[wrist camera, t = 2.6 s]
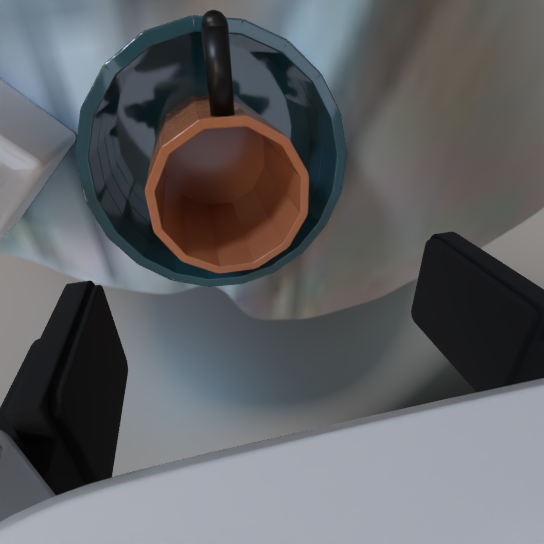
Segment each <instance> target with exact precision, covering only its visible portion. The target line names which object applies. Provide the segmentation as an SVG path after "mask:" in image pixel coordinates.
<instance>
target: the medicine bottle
mask: <svg viewBox="0 0 544 544" xmlns="http://www.w3.org/2000/svg"><path fill="white" fill-rule="evenodd" d="M75 140H76V136H75V134H74V133H73V132H72V131H71V130H70V129H68V128H67V127H66V126H64V125H63V124H61V123H60V122H59V121H57V120H56V119H54V118H53V117H52V116H50V115H49V114H48V113H46V112H45V111H43V110H42V109H41V108H39V107H38V106H37V105H35V104H34V103H32V102H31V101H30V100H28V99H27V98H25V97H24V96H23V95H21V94H20V93H19V92H17V91H16V90H14V89H13V88H12V87H10V86H9V85H8V84H6V83H5V82H3V81H2V80H1V79H0V241H1V240H2V238H3V237H4V236H5V235H6V234H7V233H8V232H9V231H10V230H11V228H12V227H13V226H14V225H15V224H16V223H17V222H18V221H19V220H20V218H21V217H22V216H23V214H24V213H25V211H26V210H27V209H28V207H29V206H30V204H31V203H32V202H33V200H34V199H35V197H36V196H37V194H38V193H39V192H40V190H41V189H42V187H43V186H44V184H45V183H46V182H47V180H48V179H49V177H50V176H51V174H52V173H53V172H54V170H55V169H56V167H57V166H58V165H59V163H60V162H61V160H62V159H63V157H64V156H65V155H66V153H67V152H68V150H69V149H70V147H71V146H72V145H73V143H74V142H75Z"/></svg>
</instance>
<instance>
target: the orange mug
mask: <svg viewBox="0 0 544 544" xmlns="http://www.w3.org/2000/svg"><path fill="white" fill-rule="evenodd" d="M201 31H202V41H203V50H204V60H205V69H206V78H207V88H208V94H198V95H191V96H189V97H188V98H187V99H185V100H184V101H182V102H181V103H179V104H178V105H177V106H176V107H174V108H173V109H172V110H171V111H169V112H168V113H166V115H165V117H164V120H163V122H162V125H161V128H160V130H159V133H158V136H157V139H156V141H155V144H154V149H153V154H152V158H151V163H150V168H149V172H148V177H147V182H146V186H145V195H146V200H147V204H148V209H149V213H150V218H151V223H152V227H153V231H154V233H155V234H156V235H157V236H158V237H159V238H160V239H161V240H162V241H163V242H164V243H165V245H166V246H167V247H168V248H169V249H170V250H171V251H172V252H173V253H174V254H175V255H176V256H177V257H178V258H179V259H180V260H181V261H182V262H185V263H188V264H191V265H194V266H197V267H200V268H203V269H206V270H209V271H212V272H215V273H227V272H235V271H242V270H249V269H256V268H258V267H260V266H261V265H263V264H264V263H266V262H267V261H269V260H270V259H272V258H273V257H275V256H276V255H278V254H279V253H281V252H283V251H284V250H286V249H287V248H288V247H289V246H290V244H291V242H292V241H293V239H294V237H295V236H296V234H297V232H298V230H299V229H300V227H301V225H302V224H303V222H304V220H305V218H306V217H307V214H308V195H309V175H308V172H307V170H306V168H305V166H304V164H303V163H302V161H301V159H300V157H299V156H298V154H297V152H296V150H295V148H294V147H293V145H292V143H291V141H290V139H289V138H288V137H287V136H285V135H284V134H283V133H282V132H280V131H279V130H278V129H277V128H275V127H274V126H273V125H272V124H270V123H269V122H268V121H267V120H265V119H264V118H263V117H262V116H261V115H259V114H258V113H257V112H256V111H254V110H253V109H252V108H250V107H248V106H246V105H245V104H243V103H241V102H239V101H238V100H236V99H234V97H233V83H232V69H231V56H230V42H229V28H228V22H227V19H226V18H225V16H224V15H223V14H222V13H221V12H219V11H216V10H211V11H208V12H207V13H205V15H204V16H203V18H202V21H201Z"/></svg>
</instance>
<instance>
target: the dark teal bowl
mask: <svg viewBox="0 0 544 544" xmlns="http://www.w3.org/2000/svg"><path fill="white" fill-rule="evenodd" d="M202 18H203V16H195V15H193V16H188V17H185V18H182V19H179V20H176V21H173V22H170V23H167V24H164V25H160V26H157V27H154V28H151V29H148V30H145V31H144V32H141V33H140V34H139V35H138V36H137V37H135V38H134V39H133V40H132V41H131V42H129V43H128V44H127V45H126V46H125V47H124V48H122V49H121V50H120V51H119V52H118V53H117V54H115V55H114V56H113V57H112V58H111V59H110V60H108V61H107V62H106V63H105V64H104V65H103V66H102V68H101V70H100V72H99V74H98V76H97V78H96V80H95V82H94V84H93V86H92V88H91V90H90V91H89V93H88V95H87V97H86V99H85V101H84V103H83V105H82V107H81V110H80V117H79V126H78V135H77V143H76V152H75V156H76V162H77V167H78V171H79V175H80V180H81V184H82V188H83V193H84V197H85V200H86V203H87V204H88V206H89V208H90V209H91V211H92V213H93V214H94V216H95V217H96V219H97V221H98V222H99V224H100V226H101V227H102V229H103V231H104V232H105V234H106V236H107V237H108V238H109V239H110V240H111V241H112V242H113V243H115V244H116V245H117V246H118V247H119V248H120V249H121V250H122V251H124V252H125V253H126V254H127V255H128V256H129V257H130V258H131V259H133V260H134V261H135V262H136V263H137V264H139V265H141V266H143V267H145V268H147V269H149V270H151V271H153V272H155V273H157V274H159V275H161V276H164V277H166V278H168V279H170V280H173V281H178V282H184V283H189V284H195V285H200V286H206V287H207V286H208V287H211V286H223V285H234V284H242V283H246V282H249V281H252V280H254V279H257V278H260V277H263V276H266V275H268V274H271V273H274V271H275V272H276V271H277V270H279V269H280V268H282V267H283V266H284V265H286V264H287V263H289V262H290V261H292V260H293V259H295V258H296V257H297V256H299V255H300V254H302V253H303V252H304V251H305V250H306V249H307V247H308V246H309V245H310V244H311V243H312V241H313V240H314V239H315V238H316V237H317V235H318V234H319V233H320V232H321V231H322V230H323V228H324V227H325V225H326V224H327V222H328V220H329V218H330V215H331V213H332V211H333V209H334V207H335V204H336V202H337V200H338V198H339V196H340V193H341V189H342V182H343V176H344V169H345V162H346V153H347V152H346V145H345V139H344V132H343V125H342V119H341V114H340V111H339V109H338V106H337V104H336V102H335V100H334V98H333V96H332V94H331V92H330V90H329V88H328V86H327V84H326V82H325V80H324V78H323V76H322V74H321V73H320V72H319V71H318V70H317V69H316V68H315V67H314V66H313V65H312V64H311V63H310V62H309V61H308V60H307V59H306V58H305V57H304V56H303V55H302V54H301V53H300V52H299V51H298V50H297V49H296V48H295V47H294V46H293V45H292V44H291V43H290V42H289V41H287V39H285V38H283V37H280V36H278V35H276V34H274V33H272V32H270V31H268V30H266V29H263V28H261V27H259V26H257V25H255V24H253V23H251V22H248V21H246V20H242V19H237V18H226V19H227V22H228V28H229V42H230V56H231V69H232V83H233V97H234V99H236V100H238V101H239V102H241V103H243V104H245V105H246V106H248V107H250V108H252V109H253V110H254V111H256V112H257V113H258V114H259V115H261V116H262V117H263V118H264V119H265V120H267V121H268V122H269V123H270V124H272V125H273V126H274V127H275V128H277V129H278V130H279V131H280V132H282V133H283V134H284V135H285V136H287V137H288V138H289V139H290V141H291V143H292V145H293V147H294V148H295V150H296V152H297V154H298V156H299V157H300V159H301V161H302V163H303V164H304V166H305V168H306V170H307V172H308V175H309V195H308V214H307V217H306V218H305V220H304V222H303V224H302V225H301V227H300V229H299V230H298V232H297V234H296V236H295V237H294V239H293V241H292V242H291V244H290V246H289V247H288V248H287V249H286V250H284V251H283V252H281V253H279V254H278V255H276V256H275V257H273V258H272V259H270V260H269V261H267V262H266V263H264V264H263V265H261V266H260V267H258V268H256V269H249V270H242V271H235V272H227V273H215V272H212V271H209V270H206V269H203V268H200V267H197V266H194V265H191V264H188V263H185V262H182V261H181V260H180V259H179V258H178V257H177V256H176V255H175V254H174V253H173V252H172V251H171V250H170V249H169V248H168V247H167V246H166V245H165V243H164V242H163V241H162V240H161V239H160V238H159V237H158V236H157V235H156V234H155V233H154V231H153V227H152V223H151V218H150V213H149V209H148V204H147V200H146V195H145V186H146V182H147V177H148V172H149V168H150V163H151V158H152V154H153V149H154V144H155V141H156V139H157V136H158V133H159V130H160V128H161V125H162V122H163V120H164V117H165V115H166V113H168V112H169V111H171V110H172V109H173V108H174V107H176V106H177V105H178V104H179V103H181V102H182V101H184V100H185V99H187V98H188V97H189V96H191V95H198V94H208V88H207V78H206V69H205V60H204V50H203V41H202V31H201V21H202Z"/></svg>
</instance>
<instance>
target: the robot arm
mask: <svg viewBox="0 0 544 544" xmlns="http://www.w3.org/2000/svg"><path fill="white" fill-rule="evenodd" d="M411 314H412V318H413V320H414V322H415V323H416V324H417V325H418V326H419V328H420V329H421V330H422V331H423V332H424V333H425V334H426V336H427V337H428V338H429V339H430V340H431V341H432V342H433V343H434V345H435V346H436V347H437V348H438V349H439V350H440V351H441V352H442V353H443V355H444V356H445V357H446V358H447V359H448V360H449V361H450V363H451V364H452V365H453V366H454V367H455V368H456V369H457V371H458V372H459V373H460V374H461V375H462V376H463V377H464V379H465V380H466V381H467V382H468V383H469V384H470V385H471V386H472V388H473V389H474V390H475V391H476V392H477V393H473V394H468V395H464V396H459V397H454V398H450V399H445V400H440V401H436V402H431V403H427V404H423V405H418V406H414V407H409V408H404V409H400V410H395V411H391V412H386V413H382V414H378V415H373V416H369V417H365V418H360V419H356V420H351V421H346V422H342V423H338V424H333V425H329V426H324V427H320V428H315V429H311V430H306V431H303V432H298V433H293V434H289V435H285V436H280V437H276V438H272V439H267V440H263V441H258V442H254V443H250V444H245V445H241V446H237V447H233V448H228V449H223V450H219V451H215V452H210V453H206V454H202V455H198V456H194V457H190V458H187V459H182V460H178V461H174V462H170V463H166V464H162V465H158V466H154V467H150V468H146V469H141V470H137V471H133V472H129V473H126V474H122V475H119V476H115V477H112V472H113V466H114V459H115V452H116V446H117V439H118V433H119V427H120V420H121V413H122V407H123V401H124V394H125V388H126V381H127V374H128V365H127V360H126V356H125V354H124V350H123V347H122V344H121V341H120V338H119V335H118V332H117V329H116V326H115V323H114V320H113V317H112V314H111V311H110V308H109V305H108V302H107V299H106V296H105V293H104V290H103V288H102V286H101V285H96V286H95V285H94V283H93V282H92V281H85V282H78V283H71V284H67V285H66V286H65V288H64V290H63V292H62V294H61V296H60V298H59V300H58V303H57V305H56V307H55V309H54V311H53V313H52V315H51V317H50V319H49V321H48V323H47V326H46V327H45V330H44V332H43V334H42V336H41V338H40V339H38V340H36V341H35V342H34V343H33V344H32V345H31V347H30V350H29V351H28V353H27V355H26V357H25V359H24V361H23V363H22V366H21V367H20V369H19V371H18V373H17V375H16V377H15V379H14V381H13V383H12V385H11V387H10V389H9V391H8V393H7V395H6V398H5V399H4V401H3V403H2V405H1V407H0V544H544V289H542V288H541V287H539V286H537V285H536V284H534V283H533V282H531V281H530V280H528V279H527V278H525V277H524V276H522V275H520V274H519V273H517V272H516V271H514V270H512V269H511V268H509V267H508V266H506V265H505V264H503V263H502V262H500V261H498V260H497V259H496V258H494V257H492V256H491V255H489V254H488V253H486V252H485V251H483V250H482V249H480V248H478V247H477V246H475V245H474V244H472V243H471V242H469V241H468V240H466V239H465V238H463V237H461V236H460V235H458V234H457V233H455V232H447V233H440V234H434V235H432V237H431V238H430V240H428V241H427V242H426V244H425V249H424V253H423V258H422V263H421V268H420V272H419V277H418V282H417V286H416V291H415V296H414V301H413V305H412V310H411Z"/></svg>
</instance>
